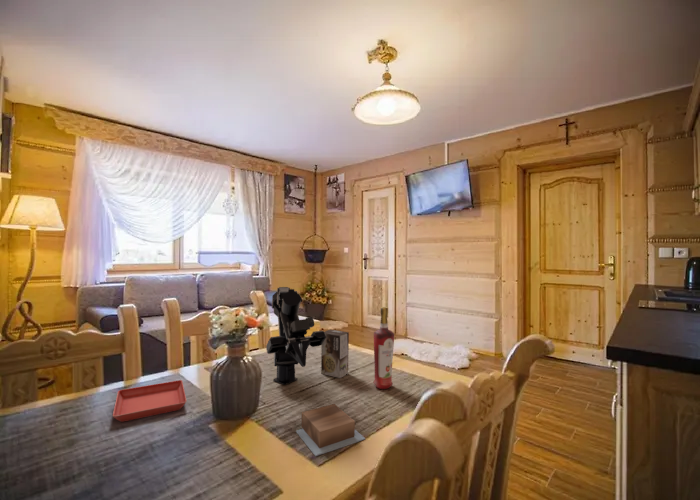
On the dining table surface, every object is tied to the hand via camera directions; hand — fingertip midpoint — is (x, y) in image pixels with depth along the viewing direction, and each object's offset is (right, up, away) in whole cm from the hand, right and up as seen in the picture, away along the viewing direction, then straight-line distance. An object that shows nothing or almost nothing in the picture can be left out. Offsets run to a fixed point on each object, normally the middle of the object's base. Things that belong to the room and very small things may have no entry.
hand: (304, 366), depth 102 cm
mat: (+9, -13, -16) cm, 22 cm away
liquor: (+26, -13, +16) cm, 33 cm away
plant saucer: (-46, -12, -1) cm, 48 cm away
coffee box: (+8, -13, +27) cm, 31 cm away
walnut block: (+5, -10, -10) cm, 15 cm away
